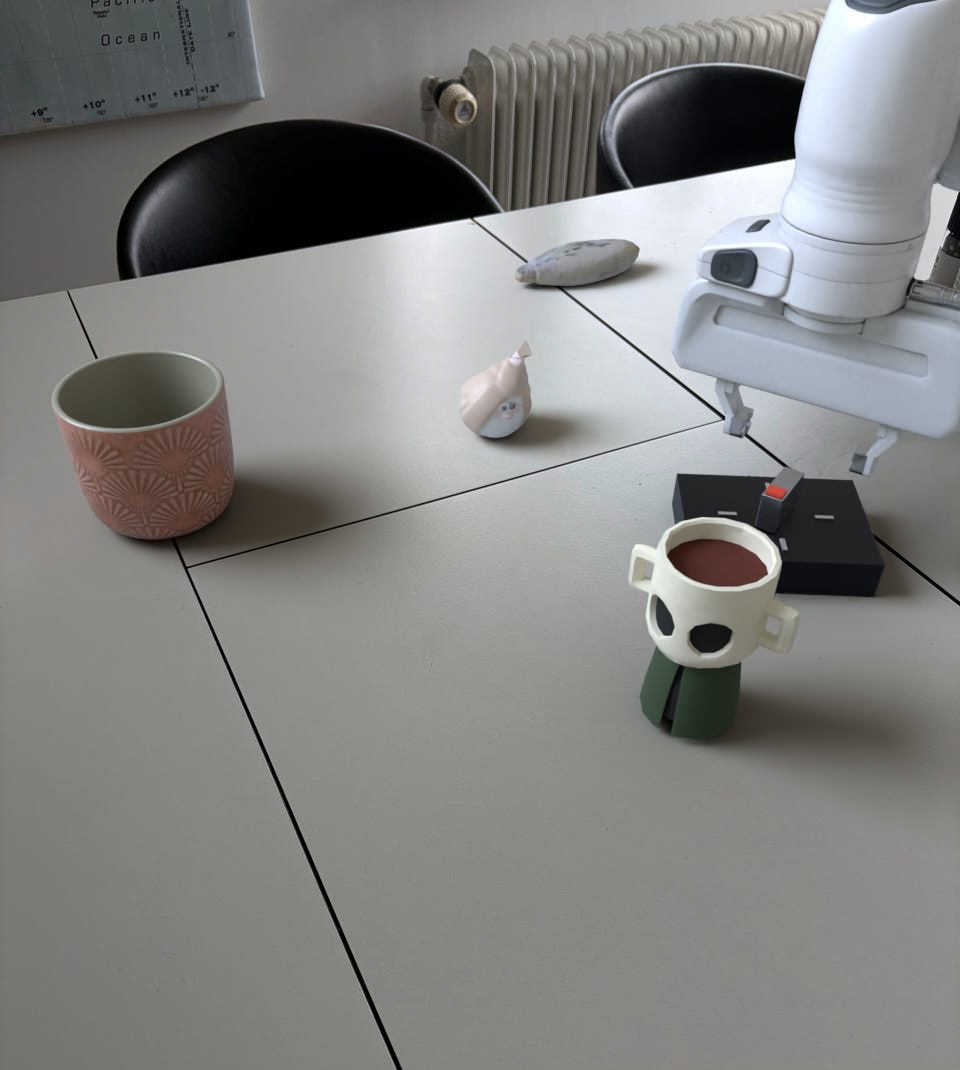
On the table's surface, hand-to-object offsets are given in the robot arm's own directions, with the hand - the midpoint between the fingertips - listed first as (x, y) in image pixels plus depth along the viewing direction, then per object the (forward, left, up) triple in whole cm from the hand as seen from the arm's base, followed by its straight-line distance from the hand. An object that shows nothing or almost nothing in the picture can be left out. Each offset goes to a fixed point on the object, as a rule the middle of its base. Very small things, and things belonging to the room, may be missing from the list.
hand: (797, 451), depth 75 cm
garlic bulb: (+22, -16, -9) cm, 29 cm away
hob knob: (0, 0, -6) cm, 6 cm away
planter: (+48, -2, -9) cm, 49 cm away
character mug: (+8, +18, -9) cm, 22 cm away
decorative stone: (+14, -50, -9) cm, 53 cm away
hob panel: (0, 0, -9) cm, 9 cm away
